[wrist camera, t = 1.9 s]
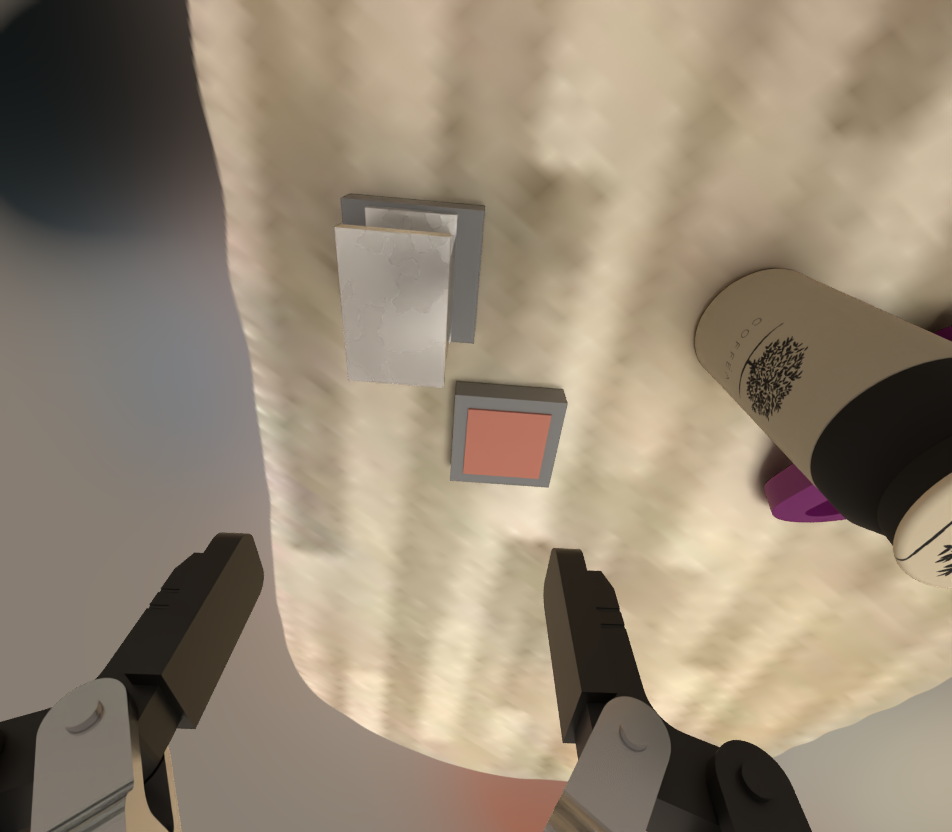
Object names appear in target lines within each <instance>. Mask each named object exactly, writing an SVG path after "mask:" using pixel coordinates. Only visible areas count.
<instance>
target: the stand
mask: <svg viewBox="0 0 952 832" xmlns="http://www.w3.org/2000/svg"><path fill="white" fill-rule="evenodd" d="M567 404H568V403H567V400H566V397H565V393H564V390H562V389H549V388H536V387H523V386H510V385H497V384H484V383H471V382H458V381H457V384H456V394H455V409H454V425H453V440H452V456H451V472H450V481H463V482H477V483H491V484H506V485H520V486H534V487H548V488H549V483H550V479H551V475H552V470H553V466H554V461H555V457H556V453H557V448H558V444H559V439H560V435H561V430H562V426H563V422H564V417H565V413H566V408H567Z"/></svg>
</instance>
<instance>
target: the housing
mask: <svg viewBox="0 0 952 832" xmlns="http://www.w3.org/2000/svg"><path fill="white" fill-rule="evenodd" d="M365 219H366V226H358V225H347V224H339V225H337V226H335V227H334V228H335V239H336V250H337V261H338V273H339V284H340V295H341V306H342V318H343V329H344V340H345V351H346V362H347V374H348V380H349V381H362V382H375V383H388V384H401V385H414V386H427V387H440V388H444V382H445V364H446V358H447V351H448V345H449V343H451V334H452V315H453V296H454V277H455V258H456V239H457V220H458V213H448V212H436V211H425V210H414V209H403V208H392V207H380V206H369V205H368V206H366V207H365Z"/></svg>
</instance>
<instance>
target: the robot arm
mask: <svg viewBox="0 0 952 832" xmlns="http://www.w3.org/2000/svg"><path fill="white" fill-rule="evenodd" d="M263 580H264V572H263V568H262V564H261V561H260V558H259V555H258V551H257V548H256V545H255V542H254V539H253V537H252V535H250V534H243V533H218V534H217V535H216V536H215V537H214V538H213V539H212V541H211V542H210V544H209V545H208V547H207V548H206V550H205V551H204V553H193V554H192V555H191V556H190V557H189V558H187V559H186V560H185V561H184V562H183V563H181V564H180V565H179V566H178V567H176V568H175V569H174V570H173V572H172V573H171V575H170V576H169V578H168V579H167V580H166V582H165V583H164V585H163V586H162V588H161V591H160V592H158V593H157V595H156V596H155V597H154V599H153V600H152V602H151V603H150V607H149V608H147V609H146V610H145V612H144V613H143V615H142V616H141V617H140V619H139V620H138V622H137V623H136V624H135V626H134V627H133V629H132V630H131V632H130V633H129V634H128V636H127V637H126V639H125V640H124V642H123V643H122V644H121V646H120V647H119V649H118V650H117V652H116V653H115V654H114V656H113V657H112V659H111V660H110V662H109V663H108V664H107V666H106V667H105V669H104V670H103V671H102V672H101V674H100V675H99V676H98V677H97V678H96V679H95V680H93V681H90V682H87V683H85V684H83V685H81V686H79V687H77V688H75V689H74V690H72V691H71V692H69V693H68V694H66V695H65V696H64V697H63V698H61V699H60V700H59V701H58V702H57V703H56V704H55V705H54V706H53V707H52V708H49V709H45V710H42V711H38V712H35V713H31V714H28V715H24V716H20V717H17V718H13V719H10V720H6V721H2V722H0V832H182V830H181V824H180V817H179V810H178V804H177V797H176V790H175V783H174V776H173V770H172V763H171V756H170V751H169V747H168V744H169V742H170V741H171V739H172V737H173V735H174V733H175V731H176V729H177V728H181V729H196V726H197V725H198V723H199V720H200V718H201V716H202V714H203V712H204V710H205V708H206V706H207V704H208V702H209V699H210V697H211V695H212V693H213V691H214V689H215V687H216V685H217V683H218V681H219V679H220V676H221V674H222V672H223V670H224V668H225V666H226V664H227V662H228V660H229V658H230V655H231V653H232V651H233V649H234V647H235V645H236V643H237V641H238V639H239V637H240V635H241V633H242V630H243V628H244V626H245V624H246V622H247V620H248V618H249V616H250V614H251V612H252V610H253V607H254V605H255V603H256V601H257V599H258V597H259V595H260V592H261V590H262V586H263ZM544 609H545V616H546V624H547V631H548V638H549V646H550V653H551V660H552V668H553V675H554V682H555V689H556V697H557V704H558V711H559V719H560V726H561V733H562V741H563V743H576V749H577V755H578V762H577V764H576V766H575V768H574V770H573V772H572V775H571V777H570V779H569V781H568V783H567V785H566V787H565V789H564V791H563V793H562V795H561V797H560V799H559V801H558V803H557V805H556V807H555V809H554V811H553V813H552V815H551V817H550V819H549V821H548V823H547V825H546V827H545V829H544V831H543V832H645V831H647V832H812V831H811V828H810V826H809V824H808V821H807V819H806V817H805V815H804V812H803V810H802V808H801V805H800V803H799V801H798V798H797V796H796V794H795V791H794V789H793V787H792V785H791V783H790V781H789V779H788V777H787V776H786V774H785V772H784V771H783V770H782V768H781V767H780V766H779V765H778V763H777V762H776V761H775V760H774V759H773V758H772V757H771V756H770V755H768V754H767V753H766V752H765V751H763V750H762V749H760V748H759V747H757V746H755V745H753V744H751V743H748V742H746V741H741V740H732V741H728V742H726V743H724V744H723V745H722V746H721V747H717V746H715V745H712V744H710V743H707V742H705V741H702V740H700V739H697V738H695V737H692V736H690V735H687V734H685V733H683V732H681V731H678V730H677V729H675V728H673V727H672V726H670V725H669V724H668V723H667V722H665V721H664V720H663V719H662V718H661V717H660V716H659V715H658V714H657V712H656V711H655V710H654V709H653V707H652V706H651V704H650V703H649V701H648V699H647V697H646V694H645V692H644V689H643V685H642V682H641V679H640V675H639V672H638V668H637V665H636V662H635V658H634V655H633V652H632V648H631V645H630V641H629V638H628V635H627V631H626V629H625V628H624V621H623V618H622V614H621V612H620V608H619V604H618V601H617V597H616V594H615V591H614V588H613V587H612V585H611V584H610V583H609V581H608V580H607V579H606V577H605V576H604V574H603V573H602V572H601V571H587V568H586V564H585V560H584V556H583V553H582V551H581V550H580V549H563V548H553V549H552V551H551V555H550V560H549V564H548V569H547V573H546V578H545V583H544Z"/></svg>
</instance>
